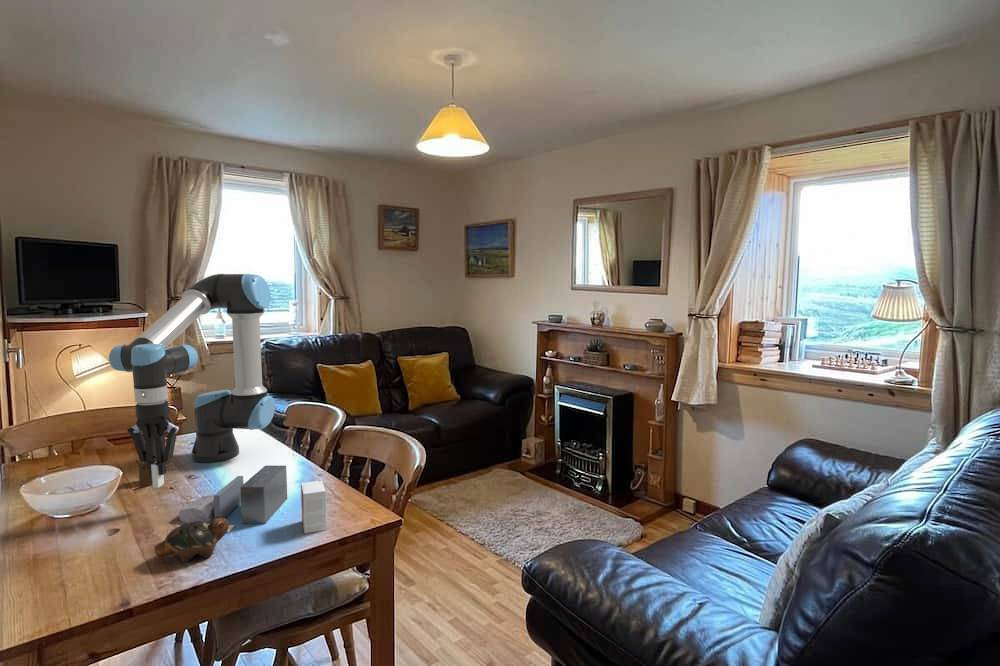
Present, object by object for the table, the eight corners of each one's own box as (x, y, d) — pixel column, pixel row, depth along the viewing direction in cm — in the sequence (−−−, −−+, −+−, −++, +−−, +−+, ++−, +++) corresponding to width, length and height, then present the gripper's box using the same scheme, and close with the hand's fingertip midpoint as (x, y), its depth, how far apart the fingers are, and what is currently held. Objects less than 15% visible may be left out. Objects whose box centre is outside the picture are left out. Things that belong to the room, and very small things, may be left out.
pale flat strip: (195, 526, 141) (195, 524, 141) (234, 526, 141) (234, 524, 141) (188, 532, 138) (188, 530, 138) (228, 532, 138) (228, 530, 138)
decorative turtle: (234, 554, 127) (230, 523, 126) (157, 578, 119) (152, 544, 118) (228, 536, 135) (224, 506, 134) (156, 556, 127) (151, 525, 126)
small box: (301, 521, 145) (300, 482, 144) (323, 517, 147) (322, 479, 146) (303, 534, 137) (302, 494, 136) (327, 530, 140) (325, 490, 138)
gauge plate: (238, 499, 157) (237, 475, 157) (244, 499, 157) (243, 475, 157) (205, 530, 138) (203, 503, 138) (211, 530, 139) (209, 503, 138)
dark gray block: (266, 498, 159) (265, 465, 158) (287, 498, 159) (286, 465, 158) (241, 523, 143) (240, 487, 142) (265, 523, 143) (263, 486, 142)
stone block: (176, 529, 144) (211, 523, 143) (172, 511, 143) (207, 505, 143) (204, 511, 156) (237, 506, 155) (200, 495, 155) (233, 489, 154)
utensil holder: (159, 484, 169) (157, 446, 168) (135, 487, 167) (133, 448, 165) (164, 477, 174) (162, 441, 173) (141, 480, 172) (138, 443, 171)
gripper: (117, 405, 143) (125, 491, 146) (168, 405, 143) (175, 491, 146) (135, 398, 150) (142, 480, 153) (184, 398, 151) (190, 480, 154)
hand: (158, 485), depth 150 cm, fingers closed
